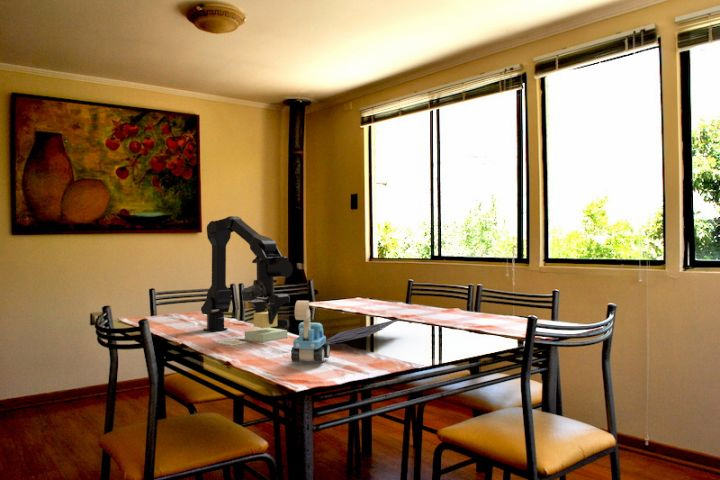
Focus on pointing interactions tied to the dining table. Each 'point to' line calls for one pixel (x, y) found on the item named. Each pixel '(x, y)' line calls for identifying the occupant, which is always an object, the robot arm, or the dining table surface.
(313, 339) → the toy excavator
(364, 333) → the dark grey flat panel
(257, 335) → the base brick
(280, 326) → the tape measure
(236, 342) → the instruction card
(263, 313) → the top brick
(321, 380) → the dining table surface
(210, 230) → the robot arm
